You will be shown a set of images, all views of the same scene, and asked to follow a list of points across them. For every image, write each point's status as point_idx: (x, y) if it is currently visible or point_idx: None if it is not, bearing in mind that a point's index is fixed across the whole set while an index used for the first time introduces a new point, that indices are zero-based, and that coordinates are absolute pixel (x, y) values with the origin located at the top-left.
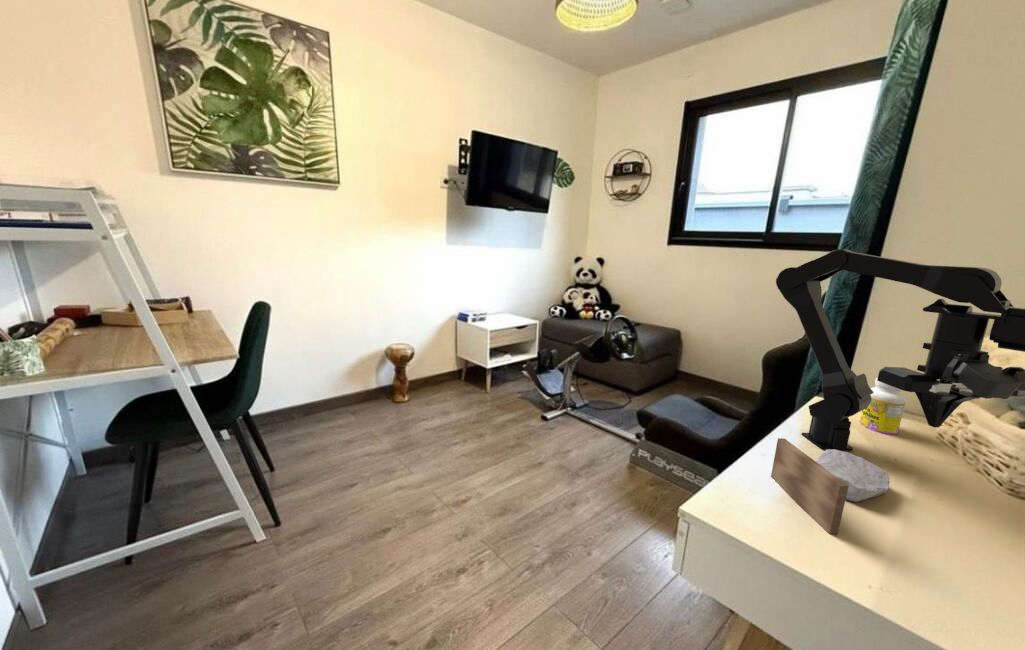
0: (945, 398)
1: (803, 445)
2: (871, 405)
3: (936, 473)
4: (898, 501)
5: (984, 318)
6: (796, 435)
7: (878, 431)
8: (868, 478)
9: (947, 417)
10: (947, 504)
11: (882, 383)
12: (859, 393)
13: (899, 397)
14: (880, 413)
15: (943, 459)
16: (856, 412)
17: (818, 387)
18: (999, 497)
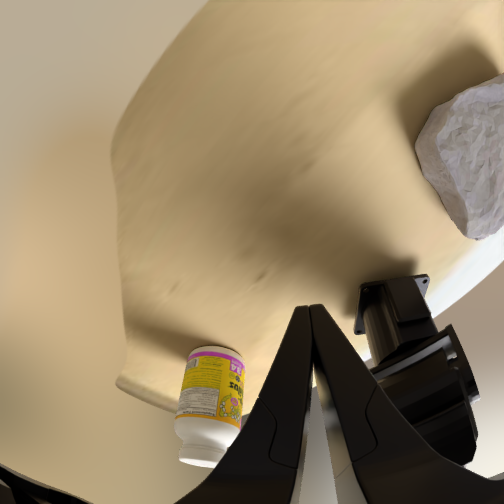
0: (451, 491)
1: None
2: (239, 411)
3: (203, 232)
4: (420, 81)
5: None
6: None
7: (228, 358)
8: (492, 122)
9: (276, 360)
10: (299, 76)
11: None
12: (459, 419)
13: (194, 430)
14: (228, 395)
15: (148, 292)
16: (445, 358)
17: None
18: (127, 154)
